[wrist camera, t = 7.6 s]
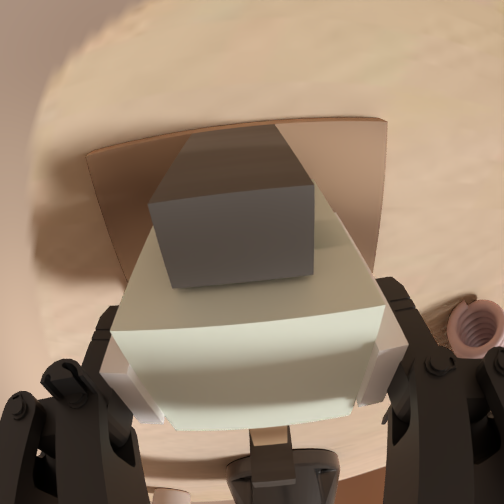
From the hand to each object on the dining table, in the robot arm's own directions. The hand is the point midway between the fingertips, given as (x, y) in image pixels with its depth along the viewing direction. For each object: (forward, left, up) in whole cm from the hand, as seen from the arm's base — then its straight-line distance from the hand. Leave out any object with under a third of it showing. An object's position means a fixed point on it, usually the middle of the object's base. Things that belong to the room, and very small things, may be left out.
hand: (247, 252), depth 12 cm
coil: (-14, -20, -2) cm, 25 cm away
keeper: (0, 0, -1) cm, 1 cm away
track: (-6, 0, -2) cm, 7 cm away
